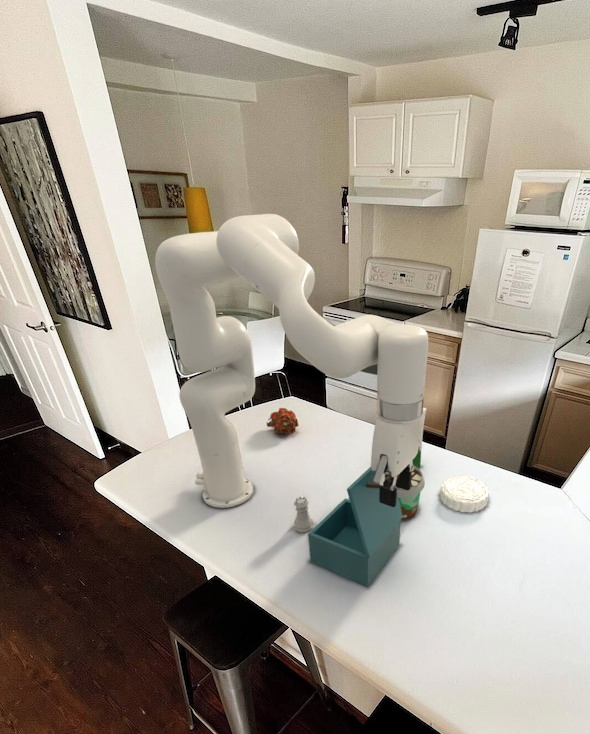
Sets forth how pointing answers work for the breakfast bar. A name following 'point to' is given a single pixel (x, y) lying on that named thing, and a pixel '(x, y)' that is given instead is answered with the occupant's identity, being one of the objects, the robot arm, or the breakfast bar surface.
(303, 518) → the rook chess piece
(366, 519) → the lid
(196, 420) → the robot arm
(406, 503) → the food container
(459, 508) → the mooncake
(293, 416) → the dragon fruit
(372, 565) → the teal hinged box
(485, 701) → the breakfast bar surface
